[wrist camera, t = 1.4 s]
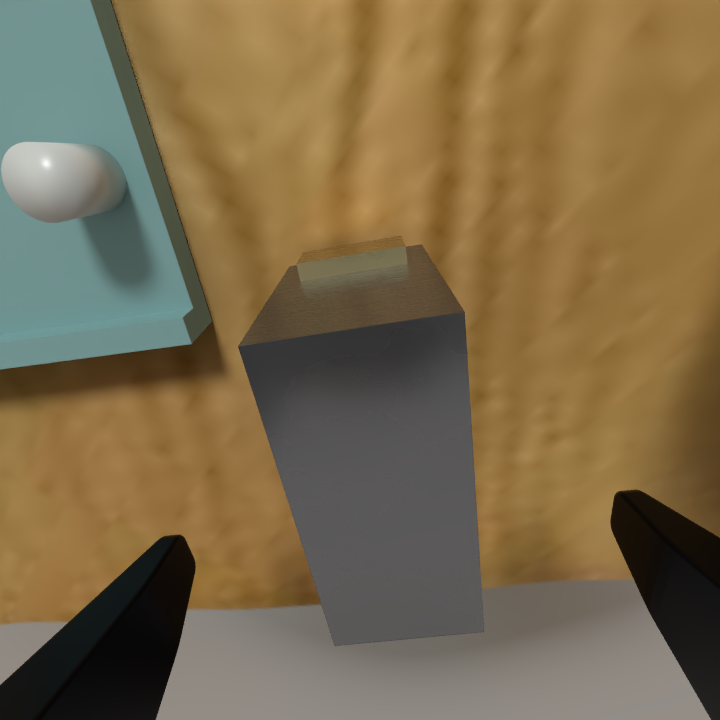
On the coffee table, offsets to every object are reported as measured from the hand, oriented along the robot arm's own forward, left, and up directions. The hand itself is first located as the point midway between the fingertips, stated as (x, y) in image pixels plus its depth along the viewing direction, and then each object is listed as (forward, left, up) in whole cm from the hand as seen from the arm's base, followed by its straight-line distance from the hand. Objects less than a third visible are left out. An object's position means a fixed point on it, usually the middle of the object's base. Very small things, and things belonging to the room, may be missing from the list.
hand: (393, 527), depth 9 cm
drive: (0, 0, -7) cm, 7 cm away
